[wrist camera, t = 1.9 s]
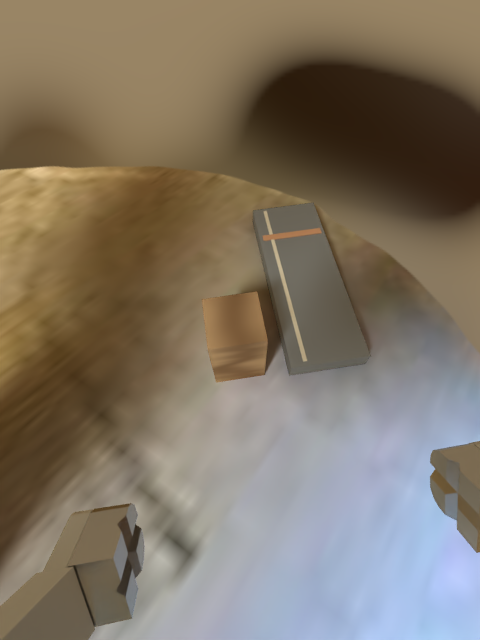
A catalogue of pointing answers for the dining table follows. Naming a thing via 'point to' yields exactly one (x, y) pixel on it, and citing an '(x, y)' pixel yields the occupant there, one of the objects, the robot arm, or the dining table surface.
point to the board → (307, 291)
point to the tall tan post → (235, 336)
